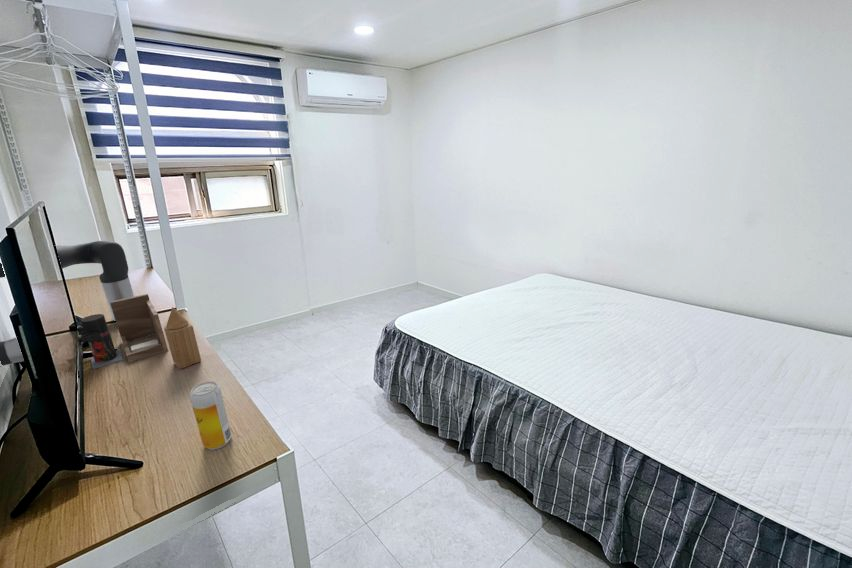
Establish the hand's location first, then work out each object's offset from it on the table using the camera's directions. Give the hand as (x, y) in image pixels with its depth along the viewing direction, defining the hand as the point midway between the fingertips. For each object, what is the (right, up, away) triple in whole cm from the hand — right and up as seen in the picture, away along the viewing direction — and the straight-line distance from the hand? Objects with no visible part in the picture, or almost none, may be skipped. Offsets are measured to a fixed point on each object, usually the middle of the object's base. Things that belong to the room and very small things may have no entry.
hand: (97, 330), depth 129 cm
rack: (+7, -7, +12) cm, 16 cm away
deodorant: (0, -10, +3) cm, 11 cm away
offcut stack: (+11, -9, +8) cm, 16 cm away
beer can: (+59, -22, -36) cm, 73 cm away
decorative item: (+30, -11, 0) cm, 32 cm away
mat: (0, -10, +4) cm, 11 cm away
